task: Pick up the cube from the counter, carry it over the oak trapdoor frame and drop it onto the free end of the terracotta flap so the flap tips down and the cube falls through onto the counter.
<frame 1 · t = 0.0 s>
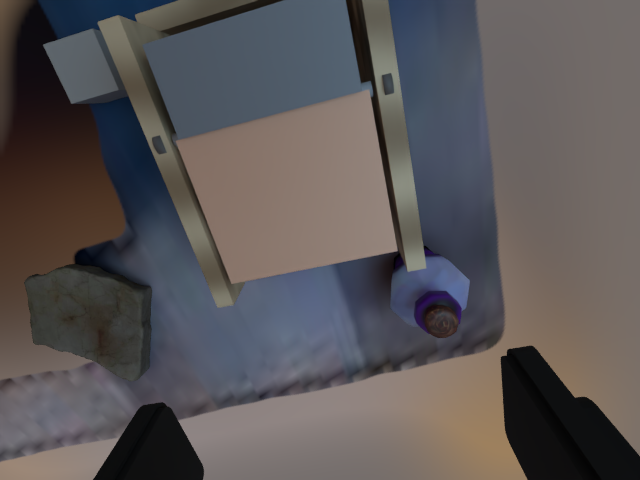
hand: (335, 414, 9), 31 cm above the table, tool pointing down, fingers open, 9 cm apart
potion bottle: (414, 264, 42), on the table
trapdoor: (283, 155, 26), point 12 cm above the table, hinge at 0.0°
marble piece: (104, 310, 48), on the table
frame: (292, 110, 36), on the table
cube: (115, 71, 35), on the table
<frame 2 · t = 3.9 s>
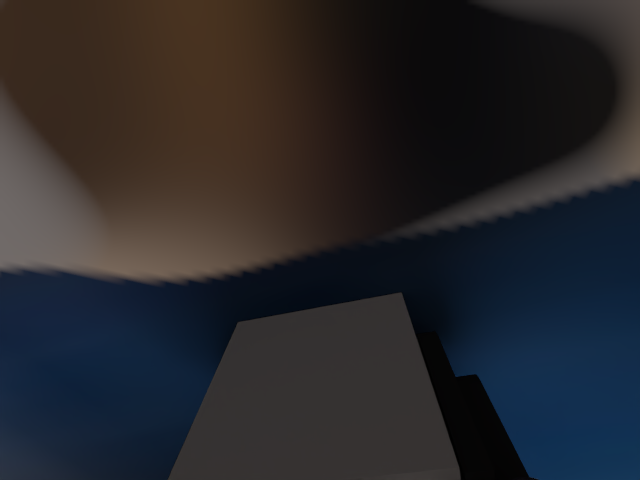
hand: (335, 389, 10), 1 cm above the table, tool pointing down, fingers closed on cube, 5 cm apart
cube: (335, 371, 11), on the table, touching gripper
when the fingers open (17 cm above the table, at t = 9.2 s): cube drops 11 cm and tips over, point 5 cm above the table.
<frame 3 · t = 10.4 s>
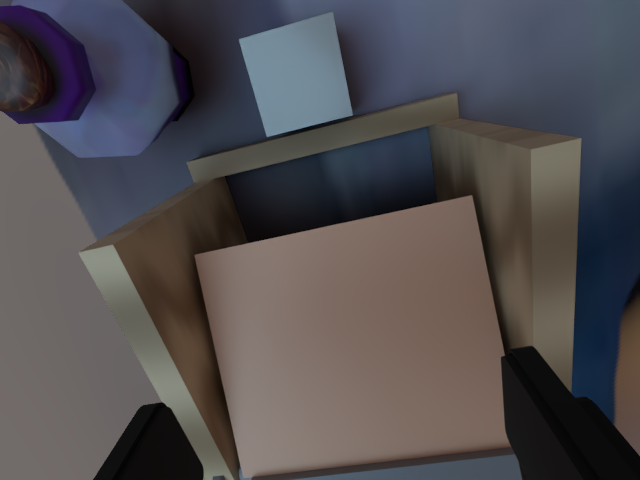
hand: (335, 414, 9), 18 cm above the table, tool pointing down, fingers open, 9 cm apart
potion bottle: (155, 81, 23), on the table
trapdoor: (363, 389, 18), point 11 cm above the table, hinge at -20.5°
frame: (359, 310, 29), on the table
cube: (297, 78, 18), point 5 cm above the table, tilted 180°
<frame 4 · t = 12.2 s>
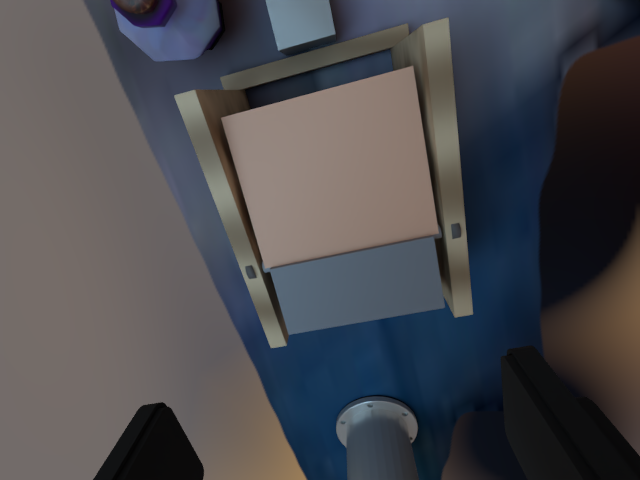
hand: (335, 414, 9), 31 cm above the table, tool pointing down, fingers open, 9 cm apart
potion bottle: (197, 19, 33), on the table
trapdoor: (341, 211, 28), point 12 cm above the table, hinge at -8.5°
frame: (345, 201, 39), on the table
cube: (298, 8, 28), point 5 cm above the table, tilted 180°
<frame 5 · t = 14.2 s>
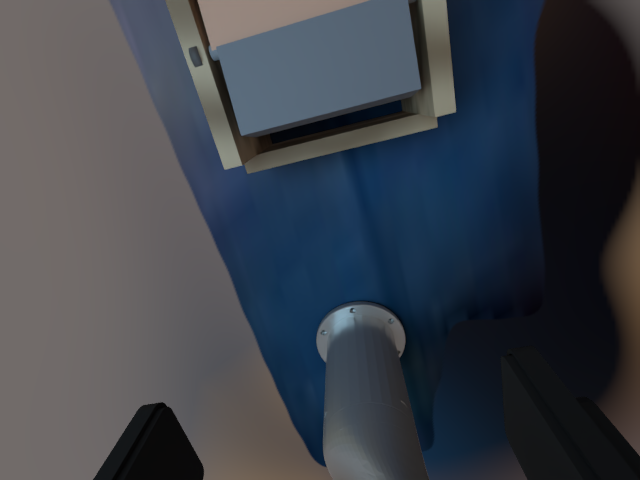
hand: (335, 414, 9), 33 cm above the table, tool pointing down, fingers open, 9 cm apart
frame: (318, 49, 35), on the table
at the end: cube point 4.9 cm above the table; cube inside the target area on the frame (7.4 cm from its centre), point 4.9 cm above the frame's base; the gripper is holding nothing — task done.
